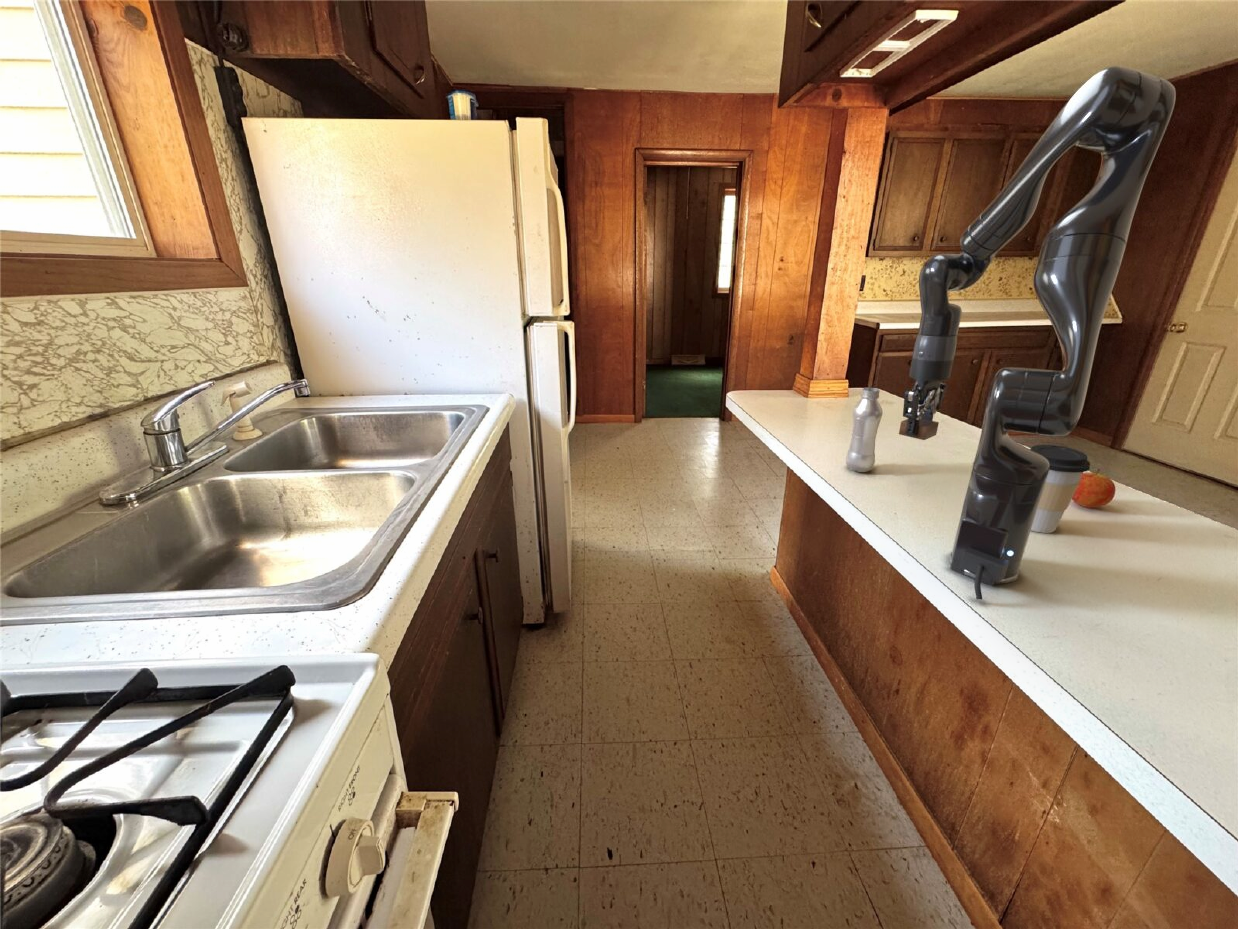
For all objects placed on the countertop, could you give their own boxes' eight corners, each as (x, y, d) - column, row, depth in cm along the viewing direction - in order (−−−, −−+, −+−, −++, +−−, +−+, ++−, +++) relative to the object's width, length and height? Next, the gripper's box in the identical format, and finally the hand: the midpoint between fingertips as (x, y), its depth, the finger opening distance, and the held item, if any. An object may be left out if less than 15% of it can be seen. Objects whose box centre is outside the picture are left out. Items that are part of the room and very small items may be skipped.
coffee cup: (1050, 515, 100) (1073, 444, 95) (1079, 540, 92) (1106, 462, 86) (996, 512, 102) (1015, 442, 96) (1020, 536, 94) (1042, 460, 88)
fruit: (1095, 516, 99) (1108, 478, 96) (1055, 502, 105) (1067, 466, 102) (1116, 509, 102) (1130, 472, 99) (1076, 495, 108) (1088, 460, 105)
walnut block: (924, 440, 110) (926, 427, 109) (898, 434, 114) (900, 421, 113) (936, 435, 113) (939, 422, 112) (910, 429, 117) (913, 416, 116)
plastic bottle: (844, 473, 123) (856, 392, 115) (844, 463, 128) (855, 385, 121) (874, 476, 120) (887, 393, 113) (872, 466, 126) (885, 386, 119)
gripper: (935, 362, 100) (919, 444, 106) (967, 354, 108) (950, 430, 114) (897, 358, 106) (884, 435, 112) (930, 350, 114) (916, 422, 120)
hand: (917, 432), depth 113 cm, fingers closed on walnut block, 5 cm apart
